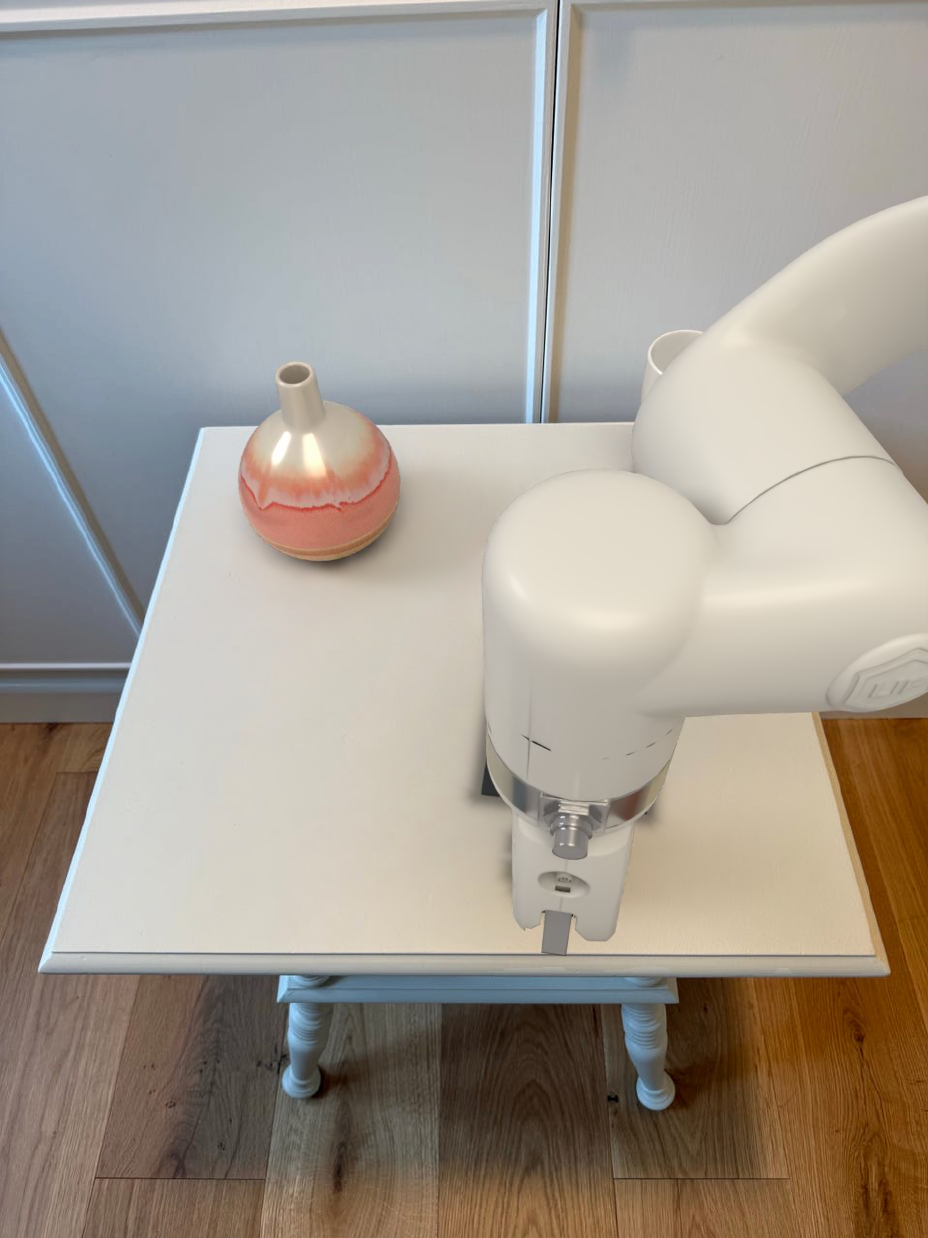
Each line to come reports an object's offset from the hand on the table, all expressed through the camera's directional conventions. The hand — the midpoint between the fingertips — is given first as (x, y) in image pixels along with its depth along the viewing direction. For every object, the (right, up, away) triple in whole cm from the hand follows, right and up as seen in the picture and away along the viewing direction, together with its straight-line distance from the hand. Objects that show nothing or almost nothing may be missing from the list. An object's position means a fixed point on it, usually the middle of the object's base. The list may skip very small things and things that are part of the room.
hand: (556, 891), depth 52 cm
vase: (-17, +23, +31) cm, 43 cm away
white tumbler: (+13, +27, +33) cm, 45 cm away
